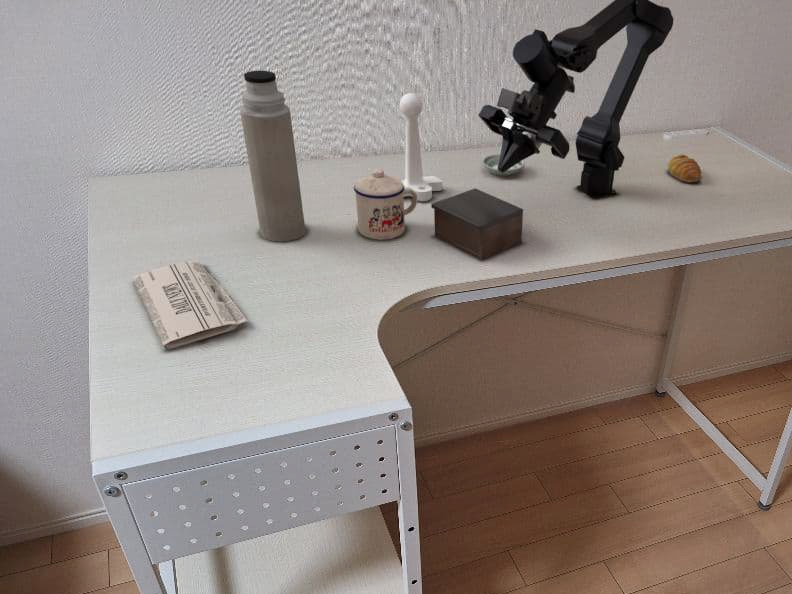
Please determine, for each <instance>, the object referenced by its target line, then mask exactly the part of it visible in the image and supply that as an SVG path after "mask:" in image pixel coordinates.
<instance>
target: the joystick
mask: <svg viewBox="0 0 792 594" xmlns="http://www.w3.org/2000/svg"><path fill="white" fill-rule="evenodd" d="M423 108H424V104H423V101H422V99H421V97H420V96H419V95H418V94H416V93H413V92H412V93H411V92H409V93H406V94H403V96H402V97H401V98H400V100H399V109H400V111H401V113H402V114H403V115H404V118H405V145H404V147H405V148H404V149H405V151H404V152H405V153H404V155H405V157H404V161H405V162H404V179H402V180H401V179H400V180H401V181H402V183H403V185H404V188H410V189H412V190H414V191H415V192H416V194H417V202H421V203H423V202H428V201H430V200H431V199H432V198H433V192H434V191H435V192H441V191H442V190H443V180H441V179H440V178H438V177H437V176H436V175H435V176H434V175H428V176H423V175H424V174H423V164H422V153H421V141H420V131H419V116H420V115H421V114H422V111H423V110H424V109H423ZM403 197H404V198H405V197H412V194H411V193H405V194H403Z"/></svg>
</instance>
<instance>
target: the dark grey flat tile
mask: <svg viewBox="0 0 792 594" xmlns="http://www.w3.org/2000/svg"><path fill="white" fill-rule="evenodd" d="M430 207H431V209H433V210H434V209H435V210H437V211H440V212H442V213H444V214H446V215H448V216H450V217H452V218H454V219H456V220H458V221H461V222H463V223H465V224H467V225H469V226H471V227H473V228H475V229H477V230H482V229H485V228H487V227H490V226H492V225H495V224H497V223H500V222H502V221H504V220H507V219H509V218H512V217H514V216H517V215H519V214H522V213H523V214H524V208H521V207H519V206H517V205H515V204H513V203H510V202H508V201H505V200H503V199H501V198H499V197H496V196H494V195H492V194H489V193H488V192H485V191H483V190H480V189H478V188H476V187H475V188H472V189H469V190H466V191H464V192H463V191H462V192H461V193H458V194H455V195H452V196H450V197H446V198H444V199H441V200H438V201H435V202H432V203H431V204H430Z"/></svg>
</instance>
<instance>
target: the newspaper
mask: <svg viewBox="0 0 792 594" xmlns="http://www.w3.org/2000/svg"><path fill="white" fill-rule="evenodd" d="M132 281H133V283H134V285H135V288H136V290H137V292H138V294H139V296H140V298H141V301H142V303H143V305H144V308H145V309H146V311H147V313H148V316H149V318H150V320H151V323H152V324H153V327H154V329H155V331H156V334H157V336H158V338H159V340H160V342H161V345H162V347H163V349H165V350H171V349H174V348H178V347H182V346H185V345H189V344H191V343H194V342H198V341H201V340H205V339H207V338H210V337H215V336H217V335H221V334H223V333H226V332H230V331H235V329H237V328H238V325H241V324H242V323H243V324H244V323H245V322H248V319H247V318H246V316H245V315H244V314H243V312H242V311H241V310H240V309H239V307H237V305H236V304H235V303H234V301H233V300H232V299H231V298H230V297H229V295H228V294H227V292H226V291H225V290H224V289H223V288H222V287H221V285H220V284H219V283H218V282H217V281H216V280H215V279H214V278H213V277H212V275H211V274H210V273H209V272H208V271H207V270H206V269H205V267H204V266H202V263H201V262H200V261H197V260H193V259H190V260H186V261H181V262H176V263H172V264H168V265H164V266H161V267H158V268H154V269H151V270H147V271H145V272H141V273H138V274H136V275H134V276H133V277H132Z"/></svg>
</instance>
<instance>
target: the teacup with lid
mask: <svg viewBox="0 0 792 594" xmlns="http://www.w3.org/2000/svg"><path fill="white" fill-rule="evenodd" d="M353 191H354V192H355V202H356V215H357V216H356V217H357V227H358V232H359V233H360V235H362V236H363V237H365V238H368V239H371V240H380V241H383V240H392V239H395V238H397V237H400V236H401V235H402V234H404V232H405V231H406V230H405V229H406V226H405V225H406V223H405V216H407V215H409V214H411V213H413V211H414V210H415V209H416V207H417V204H418V201H417V194H416V192H415V191H414V190H412V189H410V188H404V185H403V183H402V181H401V179H399V178H398V177H395V176H393V175H388V174H386V173H385V171H384V170H383V169H381V168H375V169H373V170H372V173H371V174H369V175H365V176H362V177H360V178H358V179H357V180H355V182H354V185H353ZM405 193H411V194H412V196H411V198H412V199H411V203H410V204H409V206H408V207H407V208H405V201H404V200H405V199H404V198H405V197H403V194H405Z"/></svg>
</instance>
